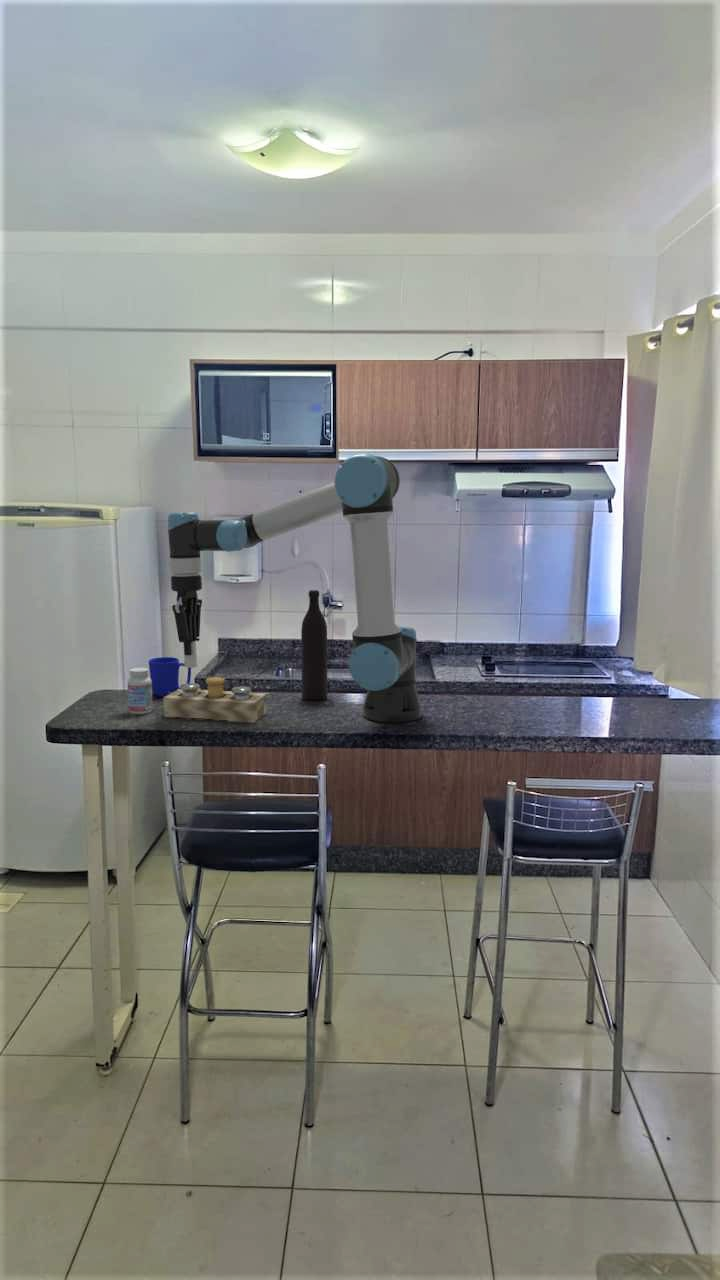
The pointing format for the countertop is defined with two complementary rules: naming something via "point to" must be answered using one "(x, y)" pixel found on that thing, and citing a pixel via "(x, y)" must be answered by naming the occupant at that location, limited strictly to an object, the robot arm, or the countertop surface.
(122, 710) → the countertop surface
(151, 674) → the mug
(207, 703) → the wooden spice rack
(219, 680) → the tan cylinder
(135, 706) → the pill bottle
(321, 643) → the wine bottle
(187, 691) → the salt shaker
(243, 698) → the glass spice jar
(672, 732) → the countertop surface
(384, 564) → the robot arm
